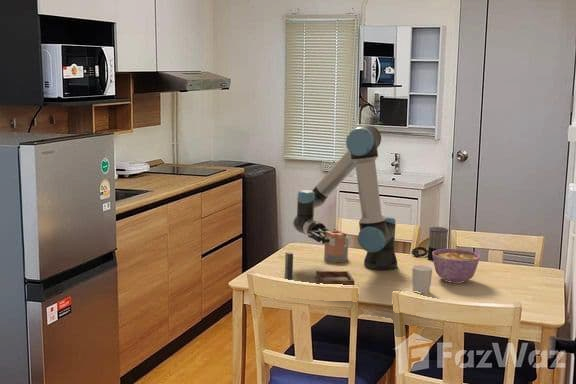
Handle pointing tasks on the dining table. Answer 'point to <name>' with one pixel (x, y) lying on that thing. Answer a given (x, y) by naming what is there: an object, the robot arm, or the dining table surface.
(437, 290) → the dining table surface
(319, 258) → the dining table surface
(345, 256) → the lumpy-topped squat cylinder
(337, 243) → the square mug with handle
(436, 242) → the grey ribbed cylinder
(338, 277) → the tray
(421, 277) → the white cup
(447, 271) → the bowl of food
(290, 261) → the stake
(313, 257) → the dining table surface
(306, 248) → the dining table surface
